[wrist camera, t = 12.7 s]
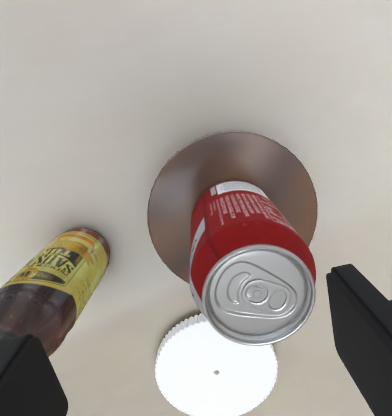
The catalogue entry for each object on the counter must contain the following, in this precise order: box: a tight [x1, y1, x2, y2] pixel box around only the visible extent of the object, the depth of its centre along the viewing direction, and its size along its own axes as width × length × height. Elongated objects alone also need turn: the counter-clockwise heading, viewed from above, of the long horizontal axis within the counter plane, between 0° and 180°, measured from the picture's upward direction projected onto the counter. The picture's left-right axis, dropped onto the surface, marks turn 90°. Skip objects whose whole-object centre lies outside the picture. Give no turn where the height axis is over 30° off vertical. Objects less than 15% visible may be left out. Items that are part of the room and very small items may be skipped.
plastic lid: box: [155, 313, 278, 416], centre depth 40 cm, size 14×14×2 cm
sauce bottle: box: [0, 228, 110, 357], centre depth 27 cm, size 7×6×20 cm
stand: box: [147, 131, 317, 284], centre depth 32 cm, size 14×14×8 cm
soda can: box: [190, 180, 316, 346], centre depth 22 cm, size 7×7×12 cm
